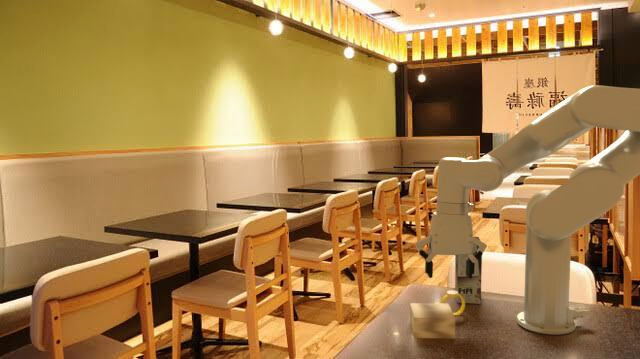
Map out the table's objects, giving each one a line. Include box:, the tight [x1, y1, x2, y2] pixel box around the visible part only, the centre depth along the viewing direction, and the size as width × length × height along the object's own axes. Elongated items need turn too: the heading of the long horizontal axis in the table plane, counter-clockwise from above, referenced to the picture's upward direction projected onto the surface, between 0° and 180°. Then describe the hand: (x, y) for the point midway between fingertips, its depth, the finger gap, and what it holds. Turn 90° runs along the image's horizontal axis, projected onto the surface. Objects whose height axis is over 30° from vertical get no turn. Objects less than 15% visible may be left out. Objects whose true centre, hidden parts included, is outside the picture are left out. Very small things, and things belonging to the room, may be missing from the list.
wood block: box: [409, 302, 456, 339], centre depth 120 cm, size 9×9×5 cm
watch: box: [440, 289, 466, 316], centre depth 128 cm, size 6×3×6 cm, turn 98°
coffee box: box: [454, 236, 483, 305], centre depth 140 cm, size 9×6×16 cm
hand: (449, 276), depth 128 cm, fingers open, 9 cm apart
